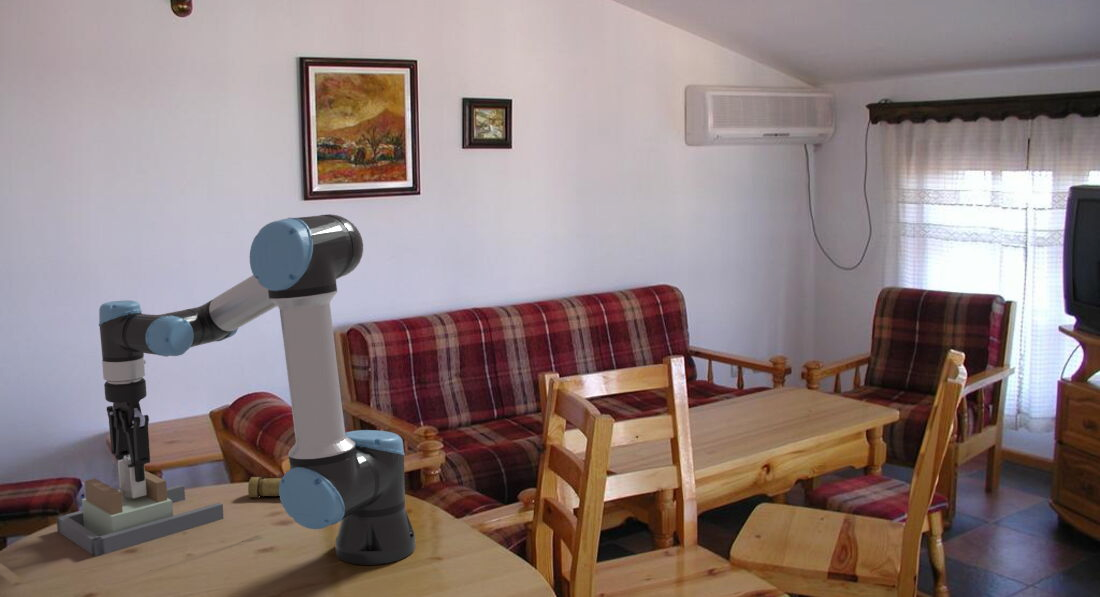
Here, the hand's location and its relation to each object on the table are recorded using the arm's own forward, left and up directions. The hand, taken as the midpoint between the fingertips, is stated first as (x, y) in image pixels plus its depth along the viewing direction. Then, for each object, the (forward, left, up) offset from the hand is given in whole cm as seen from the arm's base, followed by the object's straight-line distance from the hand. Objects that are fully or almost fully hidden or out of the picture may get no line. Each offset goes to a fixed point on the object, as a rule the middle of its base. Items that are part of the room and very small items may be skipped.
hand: (133, 493), depth 201 cm
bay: (0, -1, -8) cm, 8 cm away
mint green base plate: (0, +1, -7) cm, 7 cm away
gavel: (+3, -36, -9) cm, 37 cm away
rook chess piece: (0, 0, 0) cm, 0 cm away
